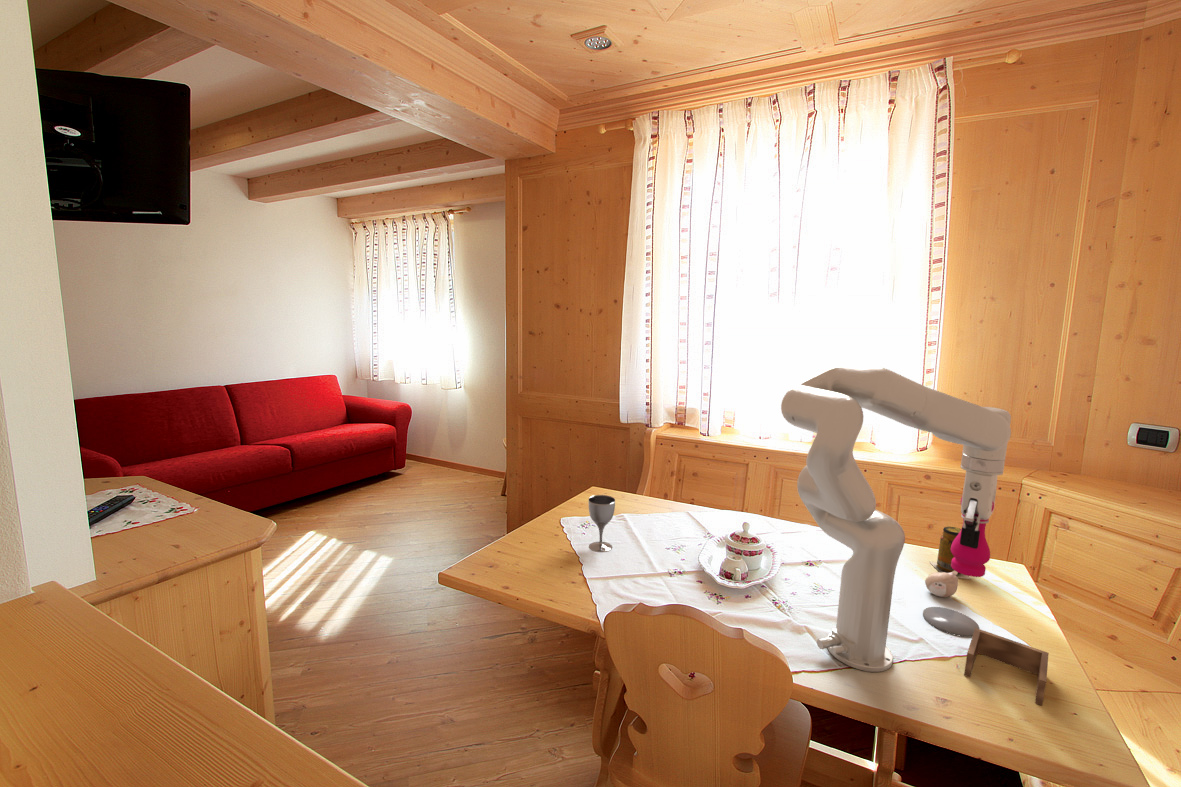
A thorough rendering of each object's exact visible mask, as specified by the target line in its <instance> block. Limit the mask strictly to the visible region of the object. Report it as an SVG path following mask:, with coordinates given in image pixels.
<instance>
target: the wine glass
mask: <svg viewBox="0 0 1181 787" xmlns="http://www.w3.org/2000/svg"><path fill="white" fill-rule="evenodd" d="M615 510H616V499H615V498H614V497H613V496H610V495H606V494H597V495H595V494H594V495H591V496H590V497H588V513H589V517H590V519H591V520H592V522H593V523H594V524H595V525H596V526H597V528H598V535H599V541H593V542H591V543H590V544H589V546H588V548H589V550H590V551H593V552H597V553H607V552H610V551H611V550H612V549H613V545H612V544H611V543H609V542H606V541H603V532H604V529H605V527H606V526H607V525H608V524H609V523H610V522H611V520H612V519H613V517H614V514H615Z"/></svg>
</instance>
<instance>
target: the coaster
mask: <svg viewBox="0 0 1181 787" xmlns="http://www.w3.org/2000/svg"><path fill="white" fill-rule="evenodd" d="M922 617H923V619H924V621H925V622H926V623H928V624H929V625H930V624H931V625H930V626H932V627H933V626H934V628H935V629H937V630H939V629H940V630H939V631H941V630H942V631H941V632H944V633H946V632H948V633H947V634H949V633H950V635H953V634H955V635H954V636H957V635H960V636H959V637H964V636H971V637H973V633H974V630H975V628H978V629H980V626H979V623H978V622H976V621H975V620H974V619H973V618H971V617H970V616H968V615H966V614H964V613H963V612H960V611H957V610H954V609H951V608H948V607H944V606H943V607H941V606H929V607H926V608H925V609H923V612H922Z"/></svg>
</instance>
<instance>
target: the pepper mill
mask: <svg viewBox="0 0 1181 787" xmlns="http://www.w3.org/2000/svg"><path fill="white" fill-rule="evenodd" d="M961 504H962V496H961V498H960V505H961ZM992 504H993V505H992V510H991V512H992V511H993V509H994V510H995V506H994V502H992ZM993 512H994V511H993ZM978 515H979V514H975V516H977V517H978ZM960 516H961V518H962V523H963V522H964V517H965V515H963V514H962V513H961V515H960ZM989 519H990V518H989ZM989 519H987V520H984V518H981V520H980V525H979V530H978V531H980V536H979V543H978V548H977V549H975V548H971V547H967V546H964V545H961V544H960V538H961V531H962V527H963V524H962V526H961V528H960V529H961V531H960V532H959V534H958V535H957V536H956V538H955V539H954V541H953V543H952V545H951V553H952V554H953V556H954V558H952V562H951V567H952V569H954V570H955V571H957V572H959V573H961V574H964V575H967V576H969V577H971V578H981V577H984V576H985V574H986V571H987V570H986V569H987V568H986V565H985V564H986V563H988V562H989V561H990V560H991V550H990V546H989V544H988V540H987V539H986V527H987V526H986V525H987V524H989V523H990V520H989ZM974 521H975V522H976V521H977V519H974Z"/></svg>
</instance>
